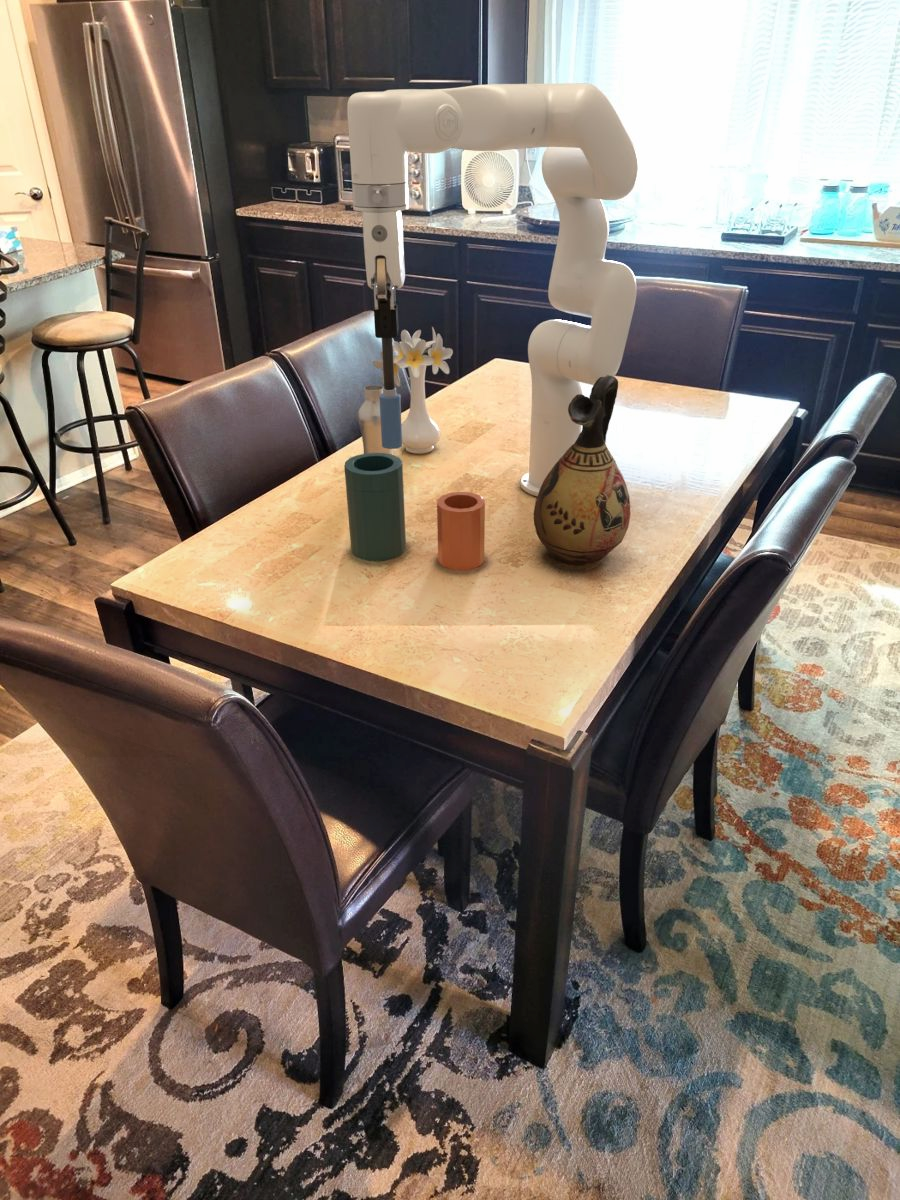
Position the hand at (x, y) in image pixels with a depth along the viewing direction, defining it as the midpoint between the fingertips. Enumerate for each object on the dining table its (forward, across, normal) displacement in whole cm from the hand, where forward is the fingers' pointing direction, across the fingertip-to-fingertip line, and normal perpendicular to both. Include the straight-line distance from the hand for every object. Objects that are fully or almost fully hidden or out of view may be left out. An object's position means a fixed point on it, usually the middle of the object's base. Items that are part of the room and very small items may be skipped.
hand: (386, 334), depth 125 cm
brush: (+17, 0, 0) cm, 17 cm away
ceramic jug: (+37, -1, -31) cm, 48 cm away
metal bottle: (+37, +28, +5) cm, 46 cm away
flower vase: (+37, +48, -2) cm, 60 cm away
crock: (+36, -3, -11) cm, 38 cm away
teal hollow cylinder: (+37, +1, +3) cm, 37 cm away
